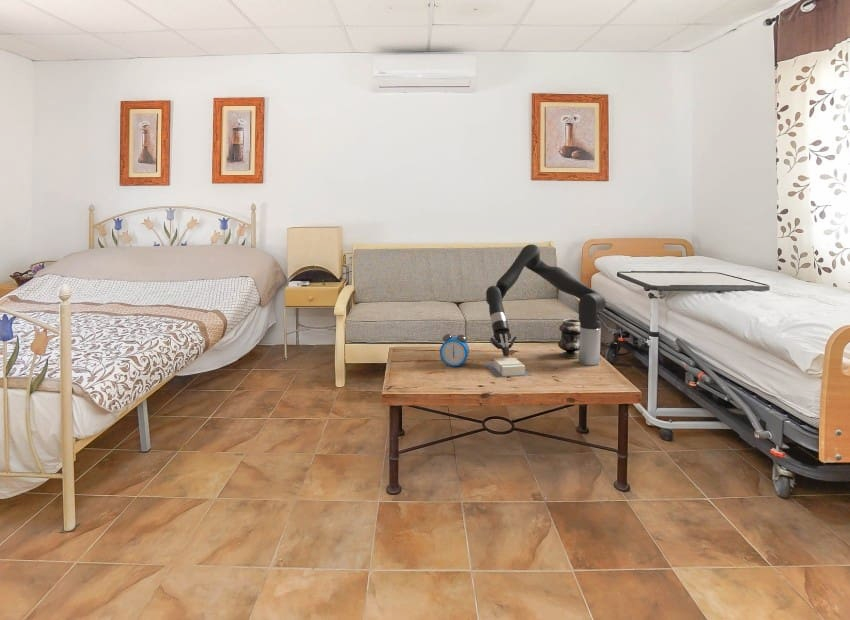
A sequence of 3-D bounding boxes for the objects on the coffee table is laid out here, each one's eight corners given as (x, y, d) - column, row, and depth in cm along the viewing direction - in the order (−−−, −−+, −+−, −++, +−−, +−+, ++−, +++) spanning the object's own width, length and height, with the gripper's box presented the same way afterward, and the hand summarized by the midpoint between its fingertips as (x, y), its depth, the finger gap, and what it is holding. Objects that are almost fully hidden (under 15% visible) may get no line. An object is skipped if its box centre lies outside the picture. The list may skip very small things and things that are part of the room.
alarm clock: (439, 366, 246) (439, 335, 243) (442, 362, 252) (441, 332, 249) (467, 368, 243) (467, 336, 240) (469, 364, 249) (469, 333, 246)
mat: (483, 364, 249) (483, 363, 249) (516, 362, 251) (516, 361, 251) (496, 378, 228) (496, 377, 228) (532, 376, 230) (532, 375, 230)
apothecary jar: (585, 359, 256) (587, 322, 253) (560, 359, 257) (562, 322, 253) (579, 352, 268) (580, 317, 265) (555, 352, 269) (556, 317, 265)
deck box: (494, 358, 242) (502, 367, 228) (515, 357, 243) (525, 365, 230) (493, 367, 243) (502, 376, 229) (515, 366, 244) (525, 375, 230)
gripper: (511, 327, 253) (518, 359, 243) (484, 328, 251) (491, 360, 241) (515, 319, 247) (522, 351, 237) (487, 320, 245) (494, 352, 235)
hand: (506, 355), depth 239 cm, fingers closed
